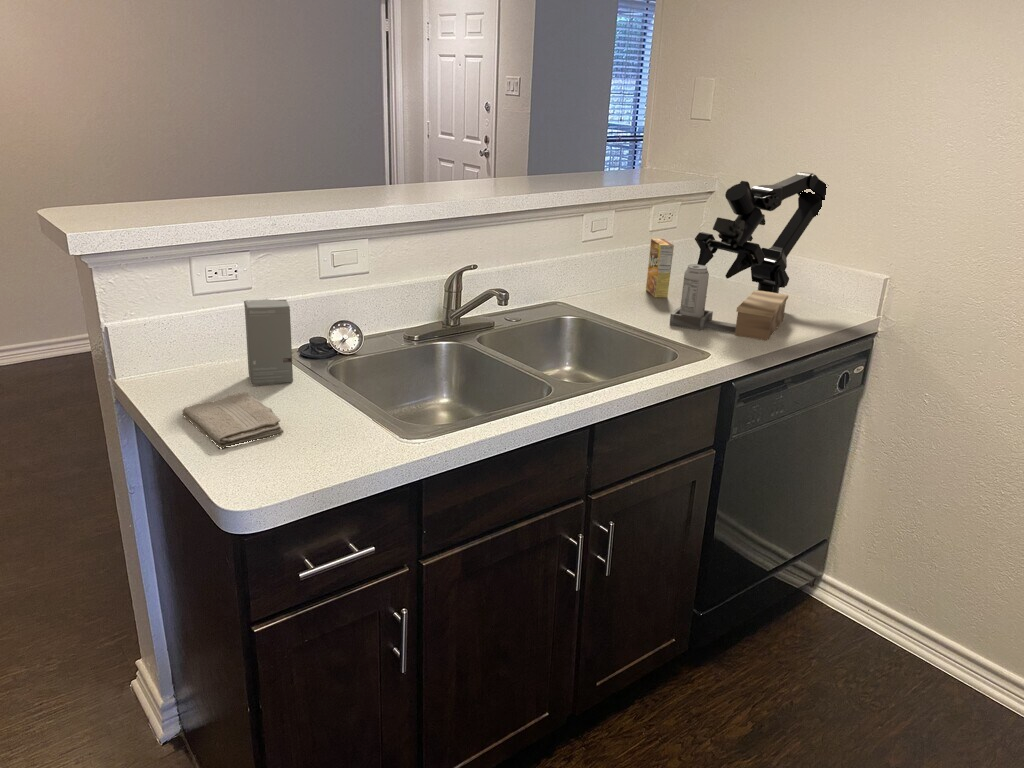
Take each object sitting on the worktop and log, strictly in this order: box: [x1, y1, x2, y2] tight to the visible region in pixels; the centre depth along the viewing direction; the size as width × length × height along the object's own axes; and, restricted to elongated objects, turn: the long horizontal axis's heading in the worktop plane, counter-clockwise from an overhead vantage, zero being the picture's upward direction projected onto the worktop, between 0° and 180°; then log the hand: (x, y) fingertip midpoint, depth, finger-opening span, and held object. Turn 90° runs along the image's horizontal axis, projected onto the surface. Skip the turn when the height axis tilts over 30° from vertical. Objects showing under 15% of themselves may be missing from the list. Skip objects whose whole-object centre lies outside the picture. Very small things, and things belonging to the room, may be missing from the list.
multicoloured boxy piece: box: [668, 289, 789, 341], centre depth 206 cm, size 22×25×7 cm
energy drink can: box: [680, 263, 710, 318], centre depth 203 cm, size 6×6×15 cm
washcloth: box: [181, 392, 284, 449], centre depth 139 cm, size 12×18×3 cm, turn 42°
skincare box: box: [243, 298, 294, 387], centre depth 157 cm, size 8×7×16 cm
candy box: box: [645, 238, 675, 299], centre depth 230 cm, size 9×4×15 cm, turn 9°
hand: (711, 273), depth 205 cm, fingers open, 9 cm apart
